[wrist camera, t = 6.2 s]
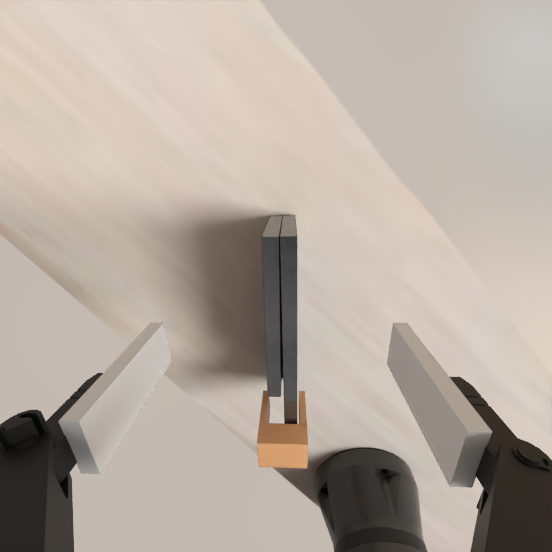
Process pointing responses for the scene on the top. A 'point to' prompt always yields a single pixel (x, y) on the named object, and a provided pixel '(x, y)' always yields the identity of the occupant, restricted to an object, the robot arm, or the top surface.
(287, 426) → the orange slotted clip
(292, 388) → the arm
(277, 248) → the tongs hinged arm
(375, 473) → the robot arm
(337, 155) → the top surface
